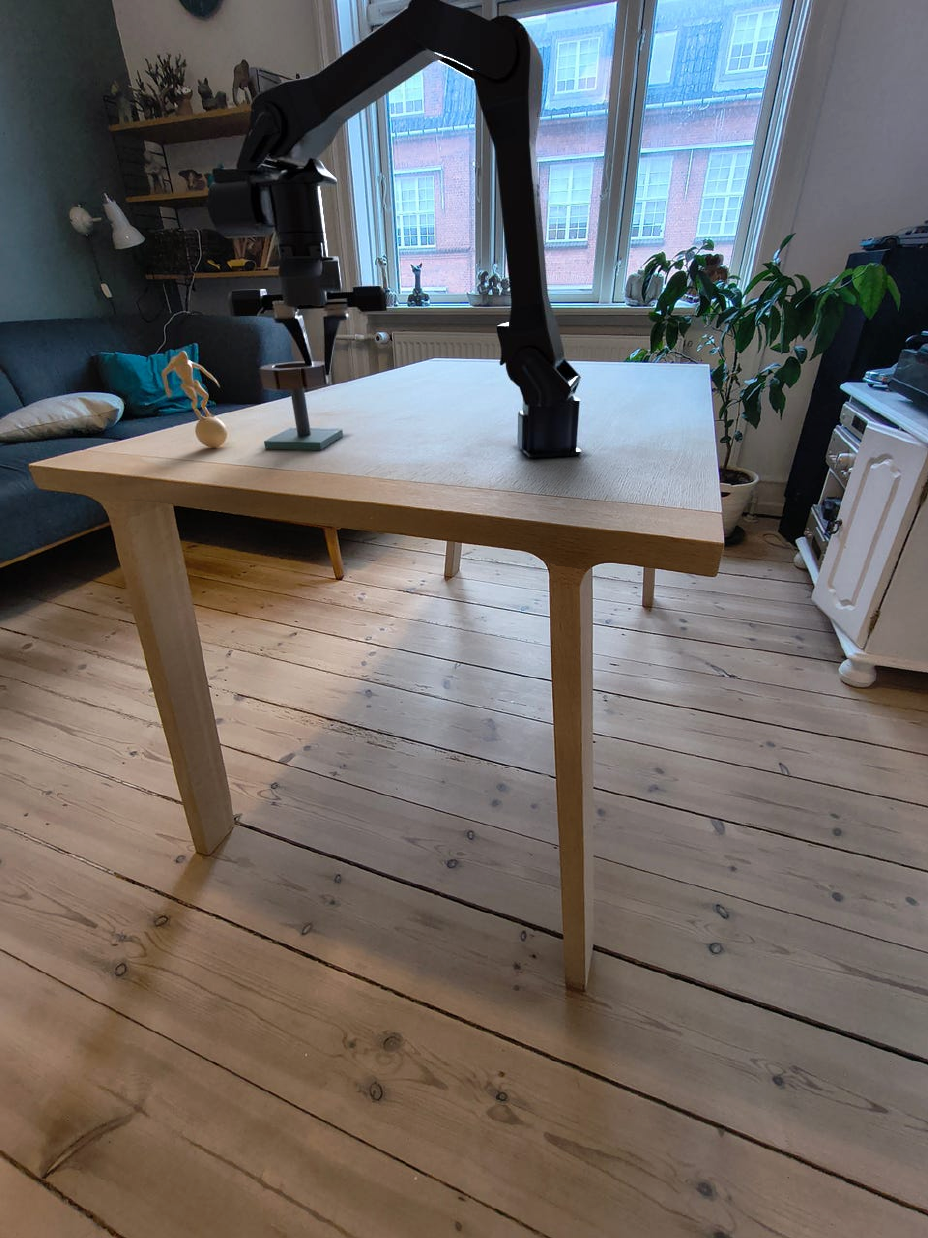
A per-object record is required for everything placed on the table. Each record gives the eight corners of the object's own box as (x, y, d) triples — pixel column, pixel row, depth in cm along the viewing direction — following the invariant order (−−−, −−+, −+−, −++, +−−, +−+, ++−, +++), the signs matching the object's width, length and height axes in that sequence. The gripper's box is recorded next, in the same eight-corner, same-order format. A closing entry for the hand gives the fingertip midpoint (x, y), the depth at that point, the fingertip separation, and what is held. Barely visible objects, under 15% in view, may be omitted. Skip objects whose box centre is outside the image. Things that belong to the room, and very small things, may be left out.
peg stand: (343, 435, 85) (335, 375, 81) (321, 450, 78) (311, 385, 74) (291, 434, 86) (281, 375, 82) (265, 448, 79) (252, 385, 75)
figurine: (200, 455, 77) (175, 355, 71) (169, 451, 79) (142, 353, 73) (248, 441, 83) (228, 347, 77) (217, 437, 86) (196, 346, 80)
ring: (330, 378, 82) (327, 359, 81) (325, 387, 75) (322, 367, 74) (269, 381, 81) (266, 363, 80) (258, 391, 74) (254, 371, 73)
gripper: (203, 231, 62) (235, 388, 70) (381, 227, 64) (393, 380, 72) (224, 237, 72) (251, 375, 80) (379, 234, 74) (390, 368, 82)
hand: (320, 375), depth 78 cm, fingers closed on ring, 2 cm apart
